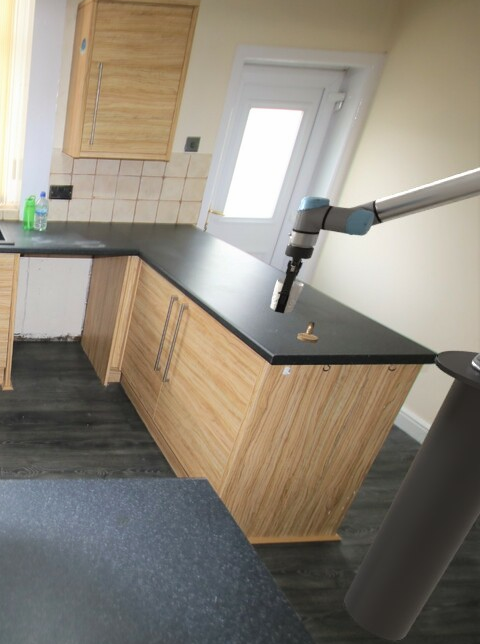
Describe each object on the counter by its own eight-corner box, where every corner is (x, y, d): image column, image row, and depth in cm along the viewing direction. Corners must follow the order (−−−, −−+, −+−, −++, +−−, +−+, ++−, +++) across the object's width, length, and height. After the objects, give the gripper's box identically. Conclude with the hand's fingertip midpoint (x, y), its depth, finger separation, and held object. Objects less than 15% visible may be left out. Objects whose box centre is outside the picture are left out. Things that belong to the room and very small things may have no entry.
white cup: (289, 306, 168) (299, 279, 164) (297, 314, 161) (307, 287, 157) (265, 303, 170) (273, 277, 165) (271, 311, 163) (281, 284, 159)
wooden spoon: (302, 323, 172) (303, 319, 171) (320, 327, 169) (322, 323, 168) (296, 339, 158) (297, 335, 157) (316, 344, 154) (318, 340, 154)
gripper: (291, 238, 166) (272, 299, 175) (284, 248, 151) (264, 314, 160) (317, 241, 162) (296, 304, 171) (312, 252, 147) (289, 320, 156)
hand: (280, 308), depth 165 cm, fingers closed on white cup, 8 cm apart
